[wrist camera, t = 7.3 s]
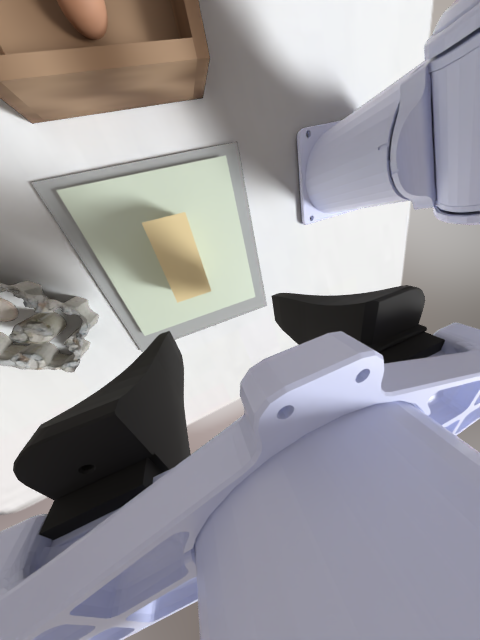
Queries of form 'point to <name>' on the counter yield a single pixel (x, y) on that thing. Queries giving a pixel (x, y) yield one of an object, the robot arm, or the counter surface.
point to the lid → (167, 240)
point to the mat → (95, 268)
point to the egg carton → (43, 330)
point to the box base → (99, 55)
